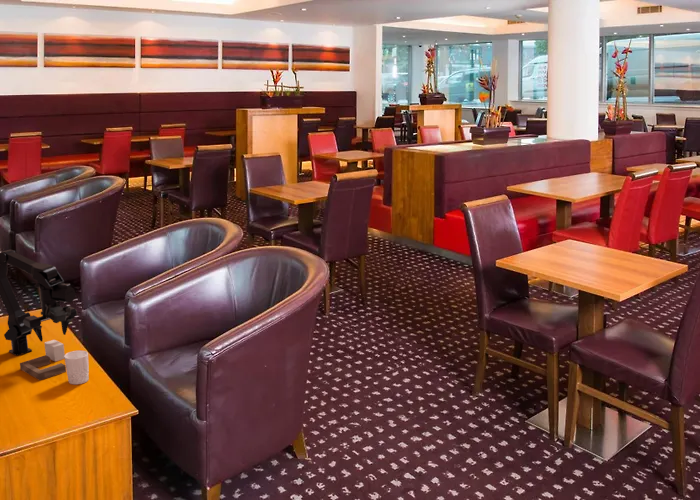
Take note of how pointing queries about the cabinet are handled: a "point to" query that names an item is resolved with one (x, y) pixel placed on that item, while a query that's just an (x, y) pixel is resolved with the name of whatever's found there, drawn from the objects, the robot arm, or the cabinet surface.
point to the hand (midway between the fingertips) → (53, 337)
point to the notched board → (41, 374)
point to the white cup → (77, 366)
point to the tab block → (54, 350)
